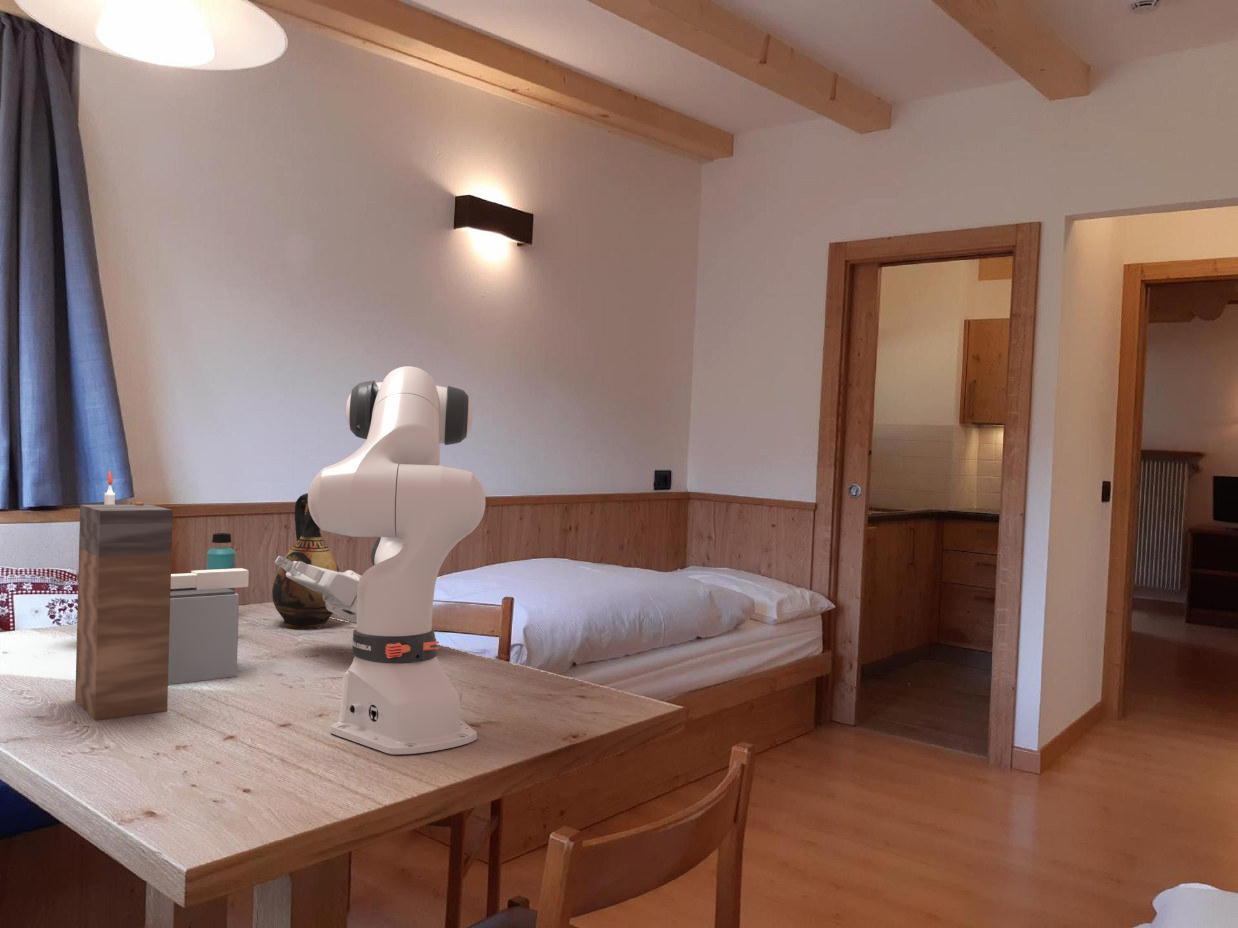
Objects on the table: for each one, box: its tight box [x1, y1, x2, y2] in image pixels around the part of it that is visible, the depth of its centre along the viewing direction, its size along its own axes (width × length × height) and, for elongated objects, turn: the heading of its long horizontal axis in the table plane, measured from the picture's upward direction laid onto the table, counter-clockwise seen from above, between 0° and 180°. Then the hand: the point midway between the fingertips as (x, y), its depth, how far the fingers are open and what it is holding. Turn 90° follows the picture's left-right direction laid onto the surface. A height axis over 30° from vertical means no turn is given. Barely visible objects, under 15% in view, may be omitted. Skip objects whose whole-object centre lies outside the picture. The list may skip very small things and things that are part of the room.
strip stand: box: [74, 502, 174, 721], centre depth 154 cm, size 14×10×31 cm
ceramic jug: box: [271, 493, 341, 630], centre depth 226 cm, size 17×15×30 cm
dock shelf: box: [168, 588, 240, 685], centre depth 175 cm, size 14×16×15 cm
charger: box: [171, 567, 250, 590], centre depth 177 cm, size 4×16×3 cm, turn 129°
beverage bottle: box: [206, 532, 236, 591], centre depth 229 cm, size 6×7×20 cm
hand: (287, 562), depth 187 cm, fingers open, 8 cm apart
